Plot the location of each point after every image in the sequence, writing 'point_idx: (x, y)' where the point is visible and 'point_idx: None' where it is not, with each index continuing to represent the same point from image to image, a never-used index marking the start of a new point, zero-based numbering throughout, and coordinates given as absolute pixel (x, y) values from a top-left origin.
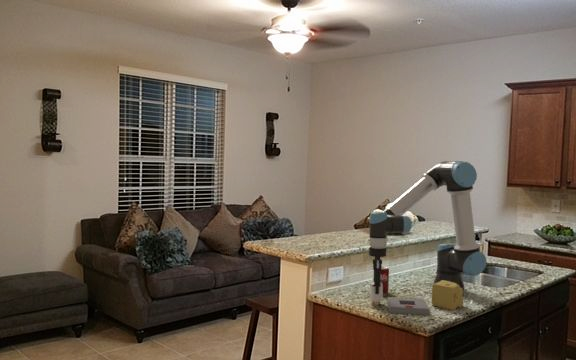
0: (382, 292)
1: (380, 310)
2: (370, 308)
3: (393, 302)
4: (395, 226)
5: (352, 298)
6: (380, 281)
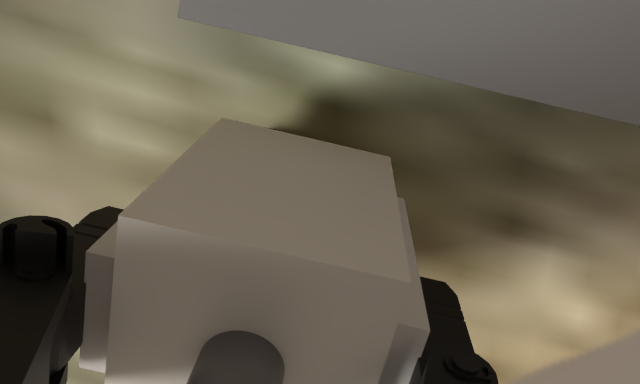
0: (396, 209)
1: (575, 212)
2: (473, 299)
3: (530, 13)
4: None
5: (68, 374)
6: (38, 241)
